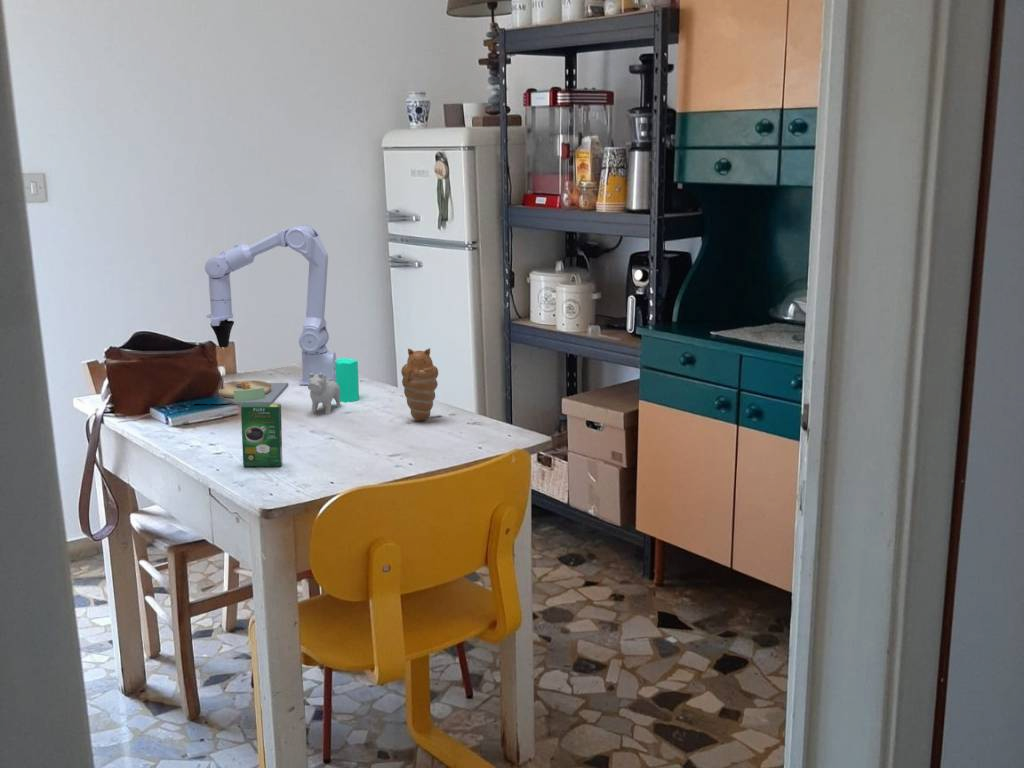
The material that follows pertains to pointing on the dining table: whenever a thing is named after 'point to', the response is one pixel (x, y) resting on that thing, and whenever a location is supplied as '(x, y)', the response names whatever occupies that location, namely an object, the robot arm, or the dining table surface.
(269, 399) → the grey flat square board
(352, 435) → the dining table surface
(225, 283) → the robot arm
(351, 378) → the candle
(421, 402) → the cat ice cream
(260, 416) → the coffee box
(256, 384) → the dial
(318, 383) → the dog figurine
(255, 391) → the pale green block
